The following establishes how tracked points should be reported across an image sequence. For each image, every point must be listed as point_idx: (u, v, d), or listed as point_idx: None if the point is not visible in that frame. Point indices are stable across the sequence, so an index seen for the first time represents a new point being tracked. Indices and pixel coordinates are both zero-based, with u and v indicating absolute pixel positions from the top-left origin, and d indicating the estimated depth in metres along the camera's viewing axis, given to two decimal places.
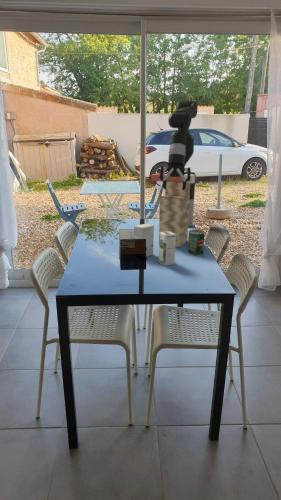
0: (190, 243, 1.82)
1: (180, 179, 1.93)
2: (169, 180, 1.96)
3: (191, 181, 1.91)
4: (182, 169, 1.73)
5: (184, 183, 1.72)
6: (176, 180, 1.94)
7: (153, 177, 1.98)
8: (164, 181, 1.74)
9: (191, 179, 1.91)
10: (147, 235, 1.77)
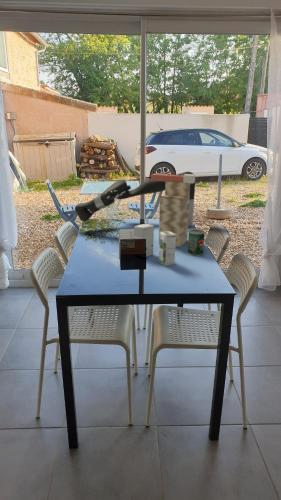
0: (190, 243, 1.82)
1: (180, 179, 1.93)
2: (169, 180, 1.96)
3: (191, 181, 1.91)
4: None
5: None
6: (176, 180, 1.94)
7: (153, 177, 1.98)
8: (117, 190, 2.01)
9: (191, 179, 1.91)
10: (147, 235, 1.77)
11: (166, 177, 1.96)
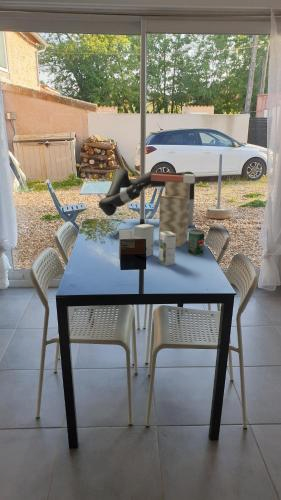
0: (190, 243, 1.82)
1: (180, 179, 1.93)
2: (169, 180, 1.96)
3: (191, 181, 1.91)
4: None
5: None
6: (176, 180, 1.94)
7: (153, 177, 1.98)
8: (144, 183, 1.97)
9: (191, 179, 1.91)
10: (147, 235, 1.77)
11: (166, 177, 1.96)
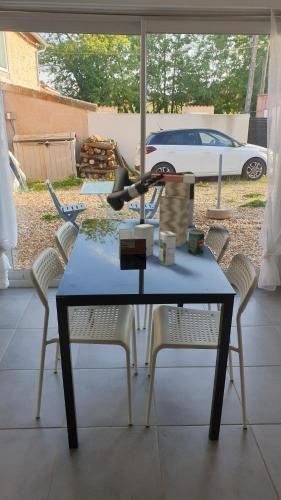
0: (190, 243, 1.82)
1: (180, 179, 1.93)
2: (169, 180, 1.96)
3: (191, 181, 1.91)
4: None
5: None
6: (176, 180, 1.94)
7: (153, 177, 1.98)
8: (156, 177, 1.97)
9: (191, 179, 1.91)
10: (147, 235, 1.77)
11: (166, 177, 1.96)
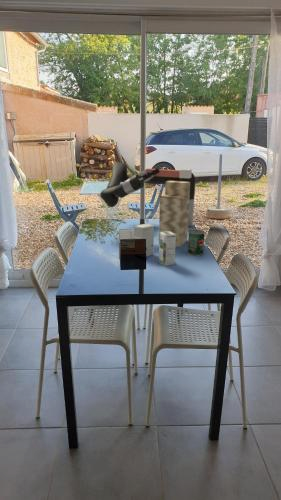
0: (190, 243, 1.82)
1: (176, 174, 1.86)
2: (165, 175, 1.89)
3: (187, 176, 1.84)
4: None
5: None
6: (172, 175, 1.87)
7: None
8: (152, 172, 1.90)
9: (187, 174, 1.83)
10: (147, 235, 1.77)
11: (162, 171, 1.89)
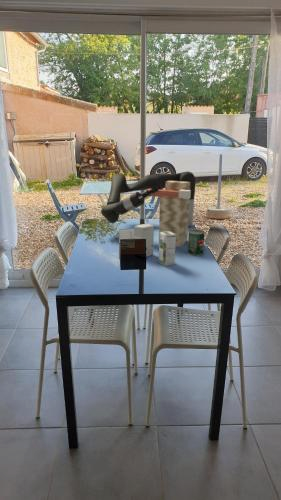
0: (190, 243, 1.82)
1: (175, 195, 1.90)
2: (164, 195, 1.92)
3: (187, 197, 1.87)
4: None
5: None
6: (171, 196, 1.91)
7: None
8: (151, 190, 1.92)
9: (187, 195, 1.87)
10: (147, 235, 1.77)
11: (161, 192, 1.92)
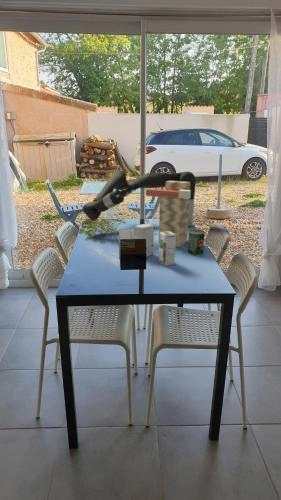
0: (190, 243, 1.82)
1: (175, 195, 1.90)
2: (164, 195, 1.92)
3: (187, 197, 1.87)
4: None
5: (135, 186, 2.03)
6: (171, 196, 1.91)
7: (148, 192, 1.95)
8: (127, 189, 1.96)
9: (187, 195, 1.87)
10: (147, 235, 1.77)
11: (161, 192, 1.92)
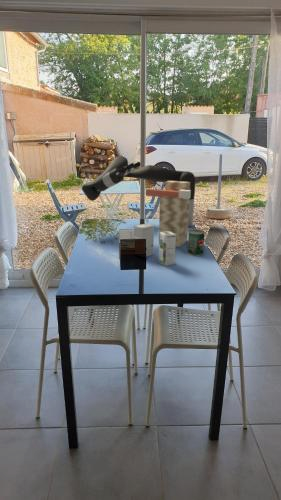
0: (190, 243, 1.82)
1: (175, 195, 1.90)
2: (164, 195, 1.92)
3: (187, 197, 1.87)
4: None
5: (135, 164, 2.00)
6: (171, 196, 1.91)
7: (148, 192, 1.95)
8: None
9: (187, 195, 1.87)
10: (147, 235, 1.77)
11: (161, 192, 1.92)
